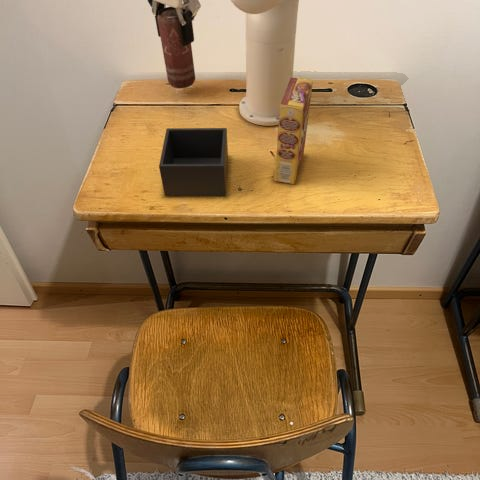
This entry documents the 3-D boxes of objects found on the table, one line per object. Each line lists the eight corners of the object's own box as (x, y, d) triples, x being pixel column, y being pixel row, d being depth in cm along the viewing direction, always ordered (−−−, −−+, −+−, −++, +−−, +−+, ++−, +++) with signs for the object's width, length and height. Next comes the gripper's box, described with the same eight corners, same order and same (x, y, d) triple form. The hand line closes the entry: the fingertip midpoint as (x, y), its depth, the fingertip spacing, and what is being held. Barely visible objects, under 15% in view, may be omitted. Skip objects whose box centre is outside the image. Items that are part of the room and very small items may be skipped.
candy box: (296, 185, 86) (303, 107, 73) (273, 182, 87) (277, 104, 74) (305, 156, 91) (313, 78, 78) (283, 153, 91) (288, 75, 79)
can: (202, 80, 103) (194, 10, 91) (180, 92, 100) (169, 21, 89) (184, 71, 106) (174, 1, 94) (162, 82, 103) (150, 12, 92)
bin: (171, 158, 91) (166, 128, 86) (228, 158, 91) (226, 127, 86) (164, 196, 85) (158, 166, 80) (225, 196, 85) (223, 165, 79)
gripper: (210, -69, 79) (219, 43, 94) (143, -85, 86) (161, 21, 101) (179, -56, 76) (192, 58, 91) (112, -74, 83) (135, 34, 98)
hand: (176, 38), depth 96 cm, fingers closed on can, 6 cm apart
